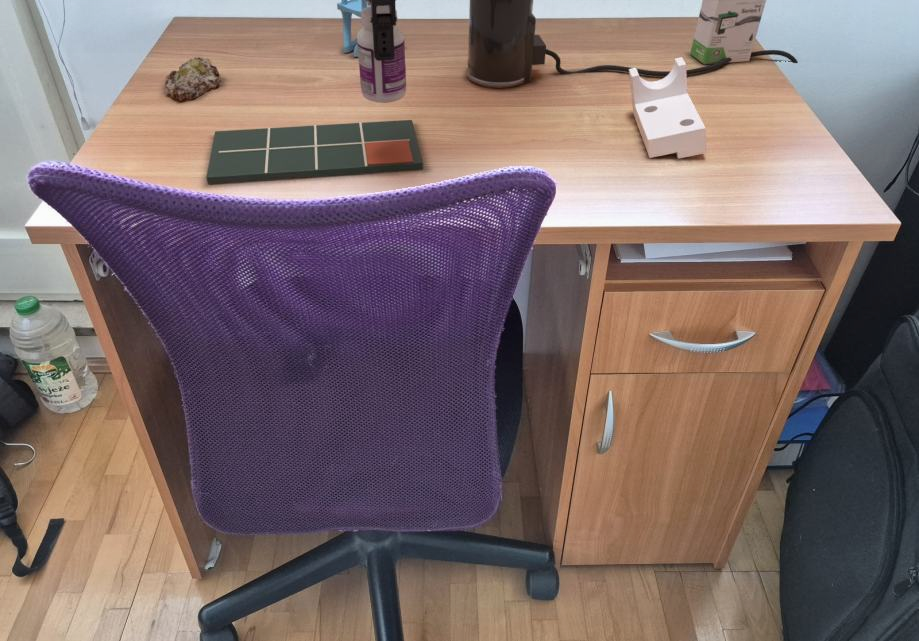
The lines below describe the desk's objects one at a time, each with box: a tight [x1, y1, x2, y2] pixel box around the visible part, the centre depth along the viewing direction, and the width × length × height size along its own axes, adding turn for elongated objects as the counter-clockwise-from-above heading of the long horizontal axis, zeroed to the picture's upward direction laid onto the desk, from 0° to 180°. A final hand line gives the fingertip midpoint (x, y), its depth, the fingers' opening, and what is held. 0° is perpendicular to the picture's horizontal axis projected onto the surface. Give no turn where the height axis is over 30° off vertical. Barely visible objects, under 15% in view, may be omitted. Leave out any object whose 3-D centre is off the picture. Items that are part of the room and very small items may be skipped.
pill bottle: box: [356, 6, 407, 104], centre depth 83 cm, size 5×5×10 cm
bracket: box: [628, 56, 707, 160], centre depth 96 cm, size 13×7×8 cm, turn 179°
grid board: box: [205, 119, 424, 185], centre depth 93 cm, size 26×12×1 cm, turn 99°
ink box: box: [689, 0, 767, 65], centre depth 116 cm, size 9×5×12 cm, turn 103°
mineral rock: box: [164, 56, 221, 102], centre depth 107 cm, size 11×4×8 cm
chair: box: [336, 0, 388, 58], centre depth 116 cm, size 8×8×12 cm
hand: (382, 48), depth 83 cm, fingers closed on pill bottle, 5 cm apart
